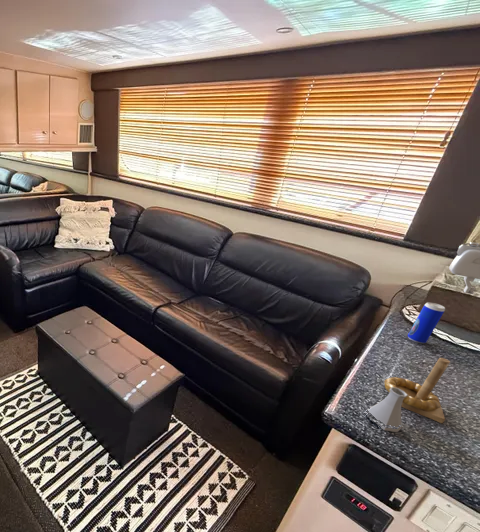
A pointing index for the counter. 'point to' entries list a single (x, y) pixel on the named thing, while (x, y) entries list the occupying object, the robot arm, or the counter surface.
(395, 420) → the flask
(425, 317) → the beverage can
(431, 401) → the ring
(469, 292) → the robot arm
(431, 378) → the stand
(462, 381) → the counter surface
